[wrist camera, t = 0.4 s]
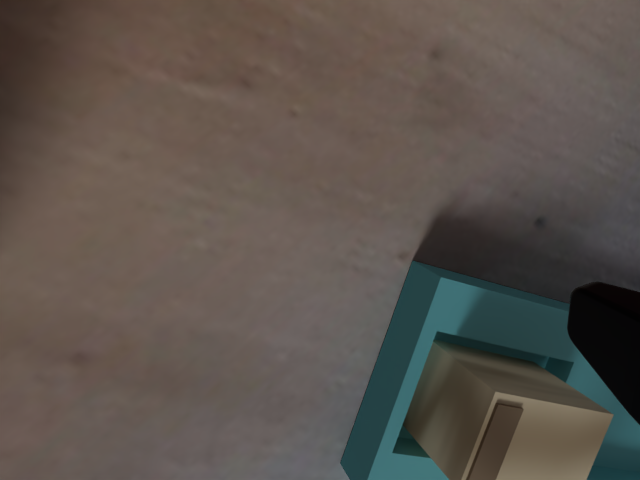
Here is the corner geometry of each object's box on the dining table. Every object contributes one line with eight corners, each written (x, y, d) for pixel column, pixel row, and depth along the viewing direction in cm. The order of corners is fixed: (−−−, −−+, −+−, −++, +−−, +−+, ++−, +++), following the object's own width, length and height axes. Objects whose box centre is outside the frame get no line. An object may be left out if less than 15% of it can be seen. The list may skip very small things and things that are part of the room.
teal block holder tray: (642, 499, 35) (679, 529, 33) (340, 463, 27) (360, 497, 25) (710, 343, 34) (754, 362, 31) (412, 260, 26) (441, 277, 24)
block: (503, 436, 29) (579, 505, 24) (398, 420, 27) (459, 492, 22) (533, 361, 28) (616, 416, 24) (428, 338, 26) (498, 393, 21)
